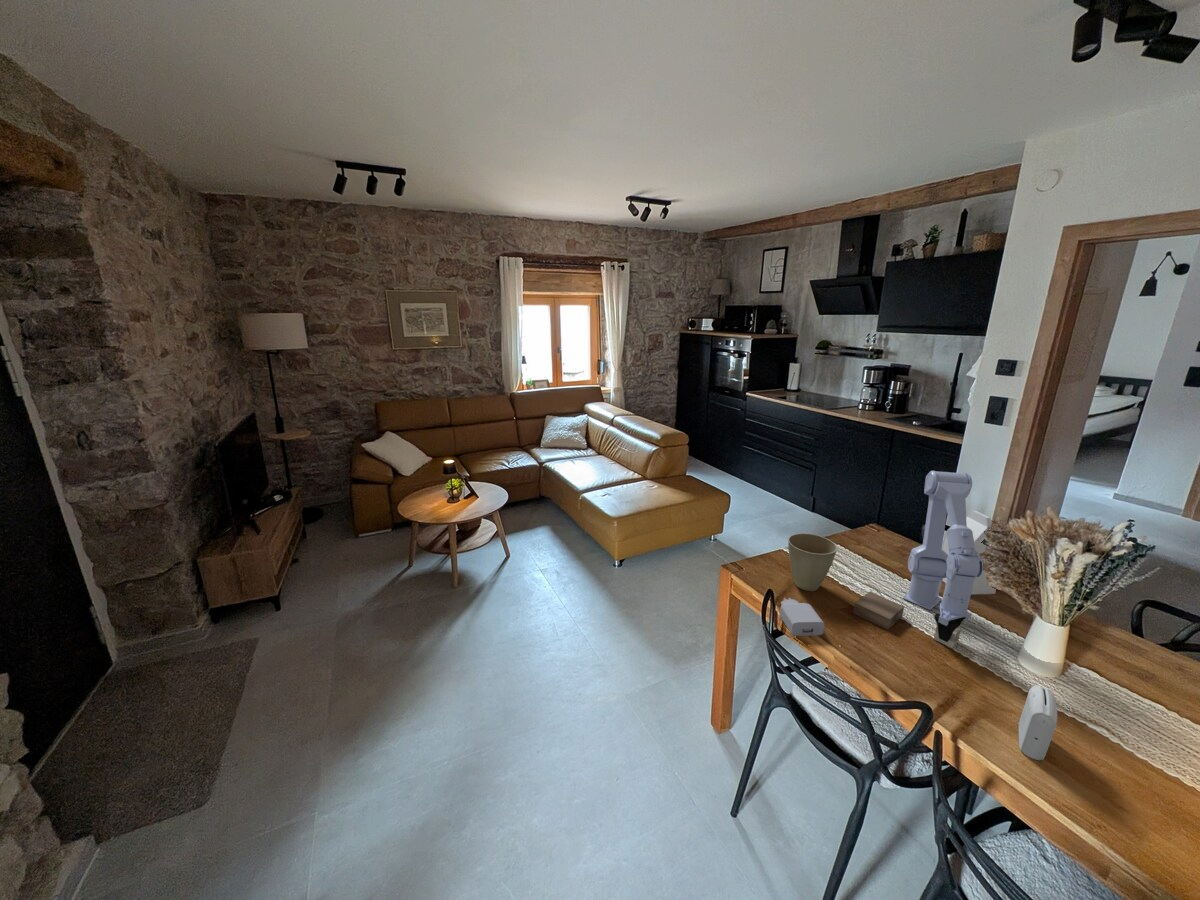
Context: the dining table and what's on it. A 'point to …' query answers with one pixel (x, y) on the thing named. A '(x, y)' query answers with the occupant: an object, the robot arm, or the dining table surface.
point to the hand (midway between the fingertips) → (946, 636)
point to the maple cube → (952, 640)
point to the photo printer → (1037, 722)
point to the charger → (800, 618)
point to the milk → (976, 547)
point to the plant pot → (810, 559)
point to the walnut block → (878, 610)
